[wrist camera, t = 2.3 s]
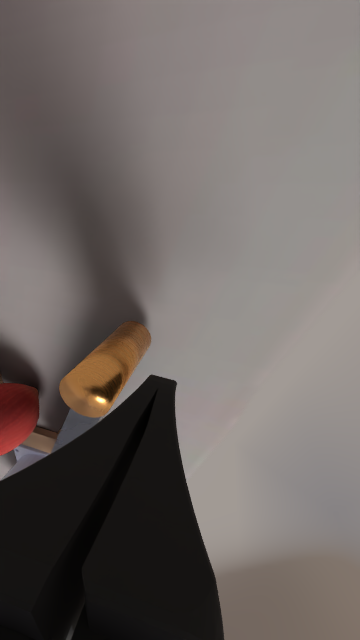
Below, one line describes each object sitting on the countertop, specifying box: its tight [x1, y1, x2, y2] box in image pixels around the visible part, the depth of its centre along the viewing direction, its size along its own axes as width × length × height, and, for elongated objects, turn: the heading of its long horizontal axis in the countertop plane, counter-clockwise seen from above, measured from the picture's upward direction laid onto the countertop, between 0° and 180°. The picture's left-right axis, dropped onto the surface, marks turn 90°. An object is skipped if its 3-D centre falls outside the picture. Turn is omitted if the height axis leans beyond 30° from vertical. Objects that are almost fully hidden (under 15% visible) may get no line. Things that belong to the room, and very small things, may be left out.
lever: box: [50, 321, 151, 454], centre depth 16 cm, size 21×3×6 cm, turn 150°
